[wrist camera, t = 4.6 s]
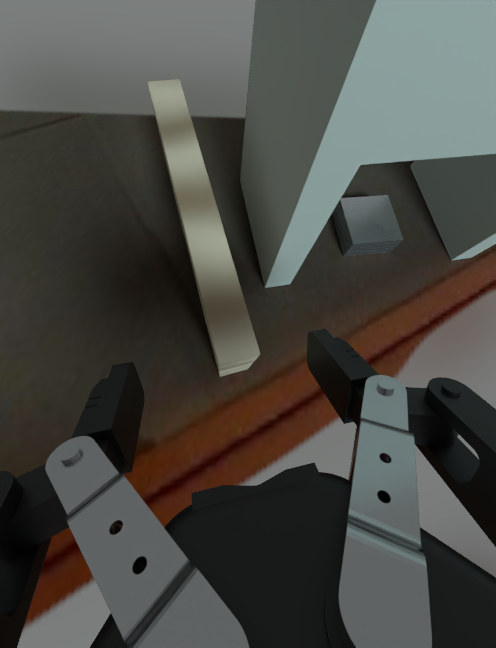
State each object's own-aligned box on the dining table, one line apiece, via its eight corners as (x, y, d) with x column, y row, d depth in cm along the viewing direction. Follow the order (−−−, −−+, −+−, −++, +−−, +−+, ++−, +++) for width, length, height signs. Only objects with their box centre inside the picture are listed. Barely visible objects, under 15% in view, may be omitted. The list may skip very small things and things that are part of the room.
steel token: (387, 253, 27) (403, 239, 25) (341, 257, 26) (353, 244, 24) (374, 211, 28) (387, 195, 26) (330, 215, 28) (339, 198, 25)
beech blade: (247, 369, 22) (260, 354, 15) (219, 376, 22) (219, 365, 15) (190, 162, 28) (179, 79, 20) (166, 165, 27) (147, 81, 20)
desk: (471, 257, 27) (1153, -134, 7) (264, 287, 24) (476, -260, 4) (424, 156, 31) (806, -302, 11) (237, 171, 28) (283, -442, 8)
